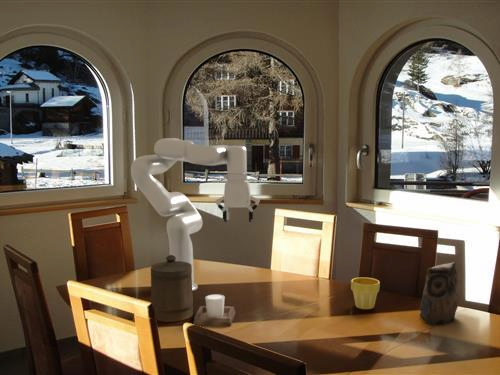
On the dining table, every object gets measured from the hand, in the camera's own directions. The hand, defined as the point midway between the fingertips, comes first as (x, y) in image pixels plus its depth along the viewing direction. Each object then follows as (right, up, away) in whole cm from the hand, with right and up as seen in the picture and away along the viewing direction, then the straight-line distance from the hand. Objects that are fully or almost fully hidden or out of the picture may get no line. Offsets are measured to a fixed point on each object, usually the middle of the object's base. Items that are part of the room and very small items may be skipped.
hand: (238, 221), depth 217 cm
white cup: (-8, -32, -21) cm, 39 cm away
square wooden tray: (-8, -33, -21) cm, 40 cm away
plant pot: (+47, -31, -11) cm, 58 cm away
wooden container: (-23, -33, -16) cm, 44 cm away
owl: (+69, -32, -24) cm, 80 cm away
